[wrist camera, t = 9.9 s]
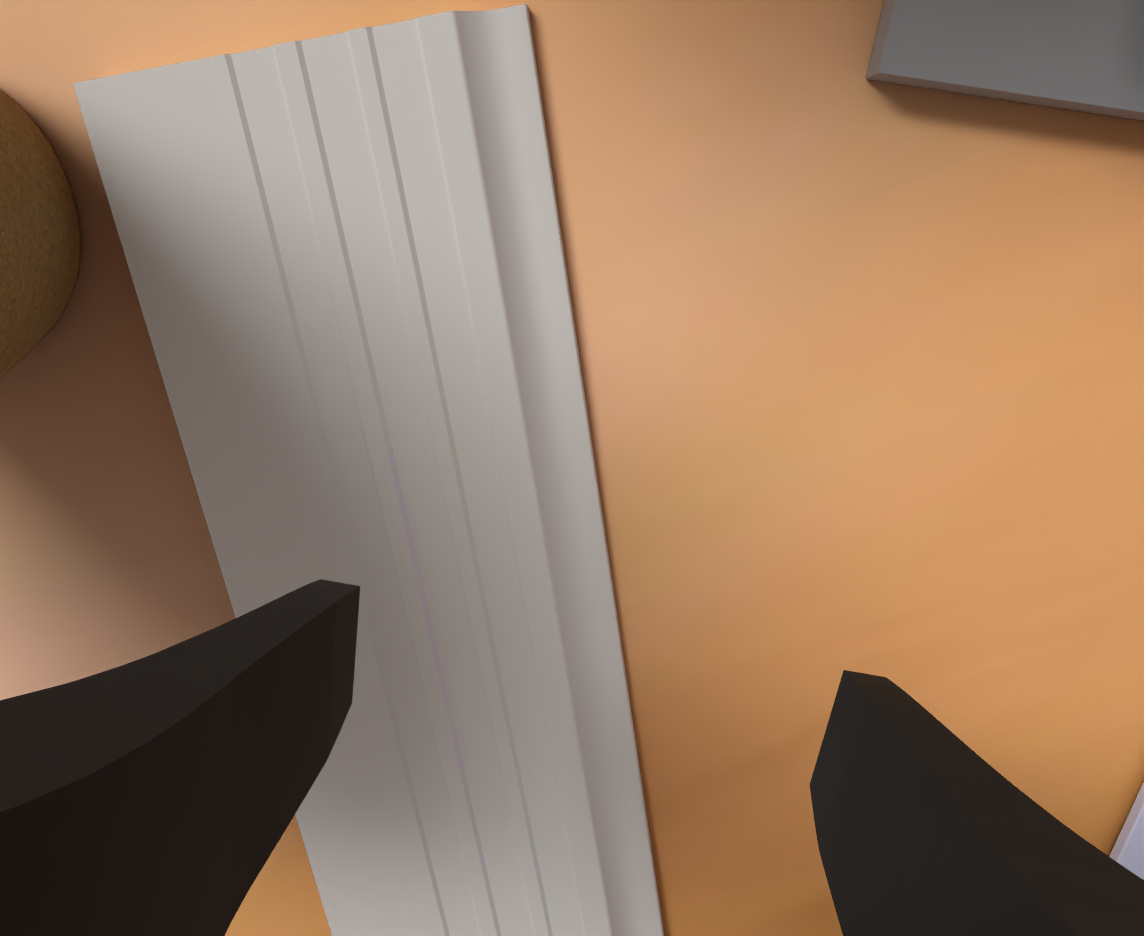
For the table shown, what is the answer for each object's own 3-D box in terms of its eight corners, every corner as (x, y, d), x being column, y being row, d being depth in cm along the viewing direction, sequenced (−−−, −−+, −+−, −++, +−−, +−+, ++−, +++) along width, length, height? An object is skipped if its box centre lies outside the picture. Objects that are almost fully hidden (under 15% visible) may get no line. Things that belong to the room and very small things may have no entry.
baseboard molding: (594, 1, 19) (113, 92, 20) (584, -34, 16) (28, 75, 17) (720, 1013, 28) (384, 1022, 29) (728, 1102, 25) (357, 1107, 27)
